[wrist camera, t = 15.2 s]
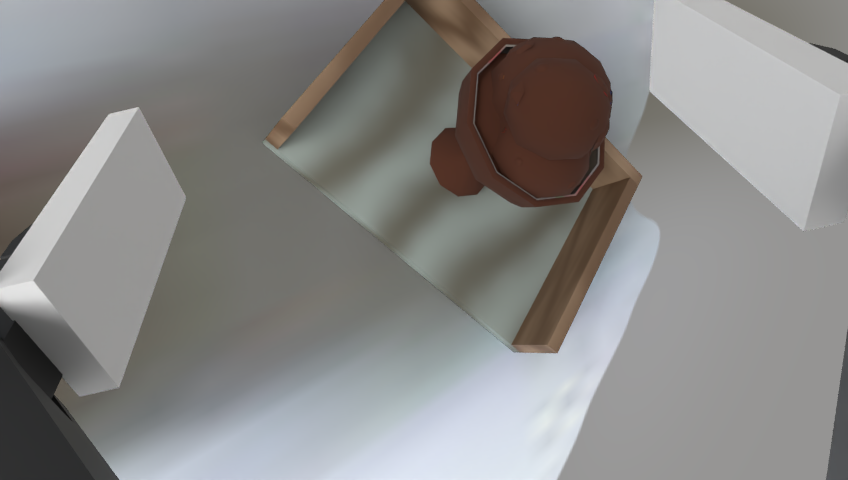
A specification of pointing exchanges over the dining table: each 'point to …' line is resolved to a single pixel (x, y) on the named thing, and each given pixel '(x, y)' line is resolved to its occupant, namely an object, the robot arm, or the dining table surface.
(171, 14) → the dining table surface
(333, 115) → the bay
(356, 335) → the dining table surface
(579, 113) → the ice cream bowl
